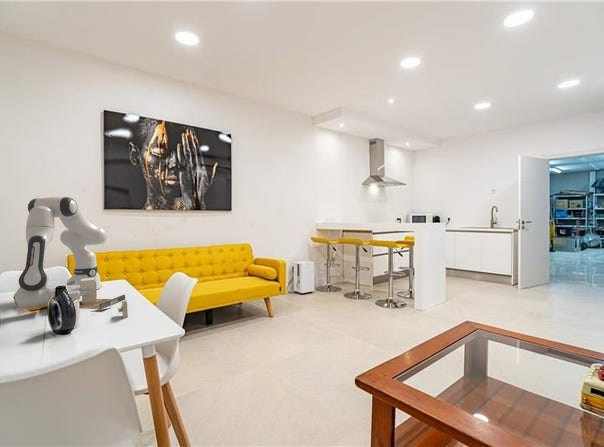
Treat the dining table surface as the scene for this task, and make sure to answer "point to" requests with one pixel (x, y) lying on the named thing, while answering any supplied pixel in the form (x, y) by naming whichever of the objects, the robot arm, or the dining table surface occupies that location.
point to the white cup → (77, 314)
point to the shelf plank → (101, 303)
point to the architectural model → (124, 309)
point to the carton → (89, 285)
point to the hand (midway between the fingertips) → (90, 290)
